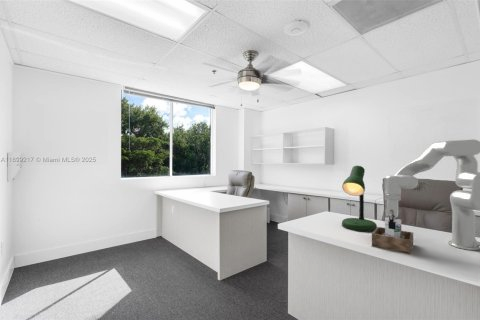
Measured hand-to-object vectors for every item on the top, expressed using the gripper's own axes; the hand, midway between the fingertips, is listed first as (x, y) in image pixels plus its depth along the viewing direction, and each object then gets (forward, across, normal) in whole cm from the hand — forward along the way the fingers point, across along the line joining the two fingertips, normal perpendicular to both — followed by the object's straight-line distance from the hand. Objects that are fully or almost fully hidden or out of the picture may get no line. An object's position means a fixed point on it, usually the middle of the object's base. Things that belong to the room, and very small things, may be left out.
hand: (393, 226), depth 133 cm
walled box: (+10, 0, 0) cm, 11 cm away
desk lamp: (+11, -23, -24) cm, 35 cm away
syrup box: (+10, 0, 0) cm, 10 cm away
